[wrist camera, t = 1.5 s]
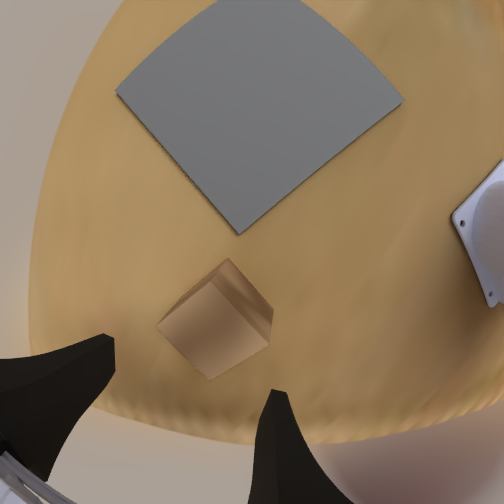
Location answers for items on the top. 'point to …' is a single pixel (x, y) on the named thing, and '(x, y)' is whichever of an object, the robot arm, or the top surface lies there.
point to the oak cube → (219, 321)
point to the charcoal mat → (256, 100)
